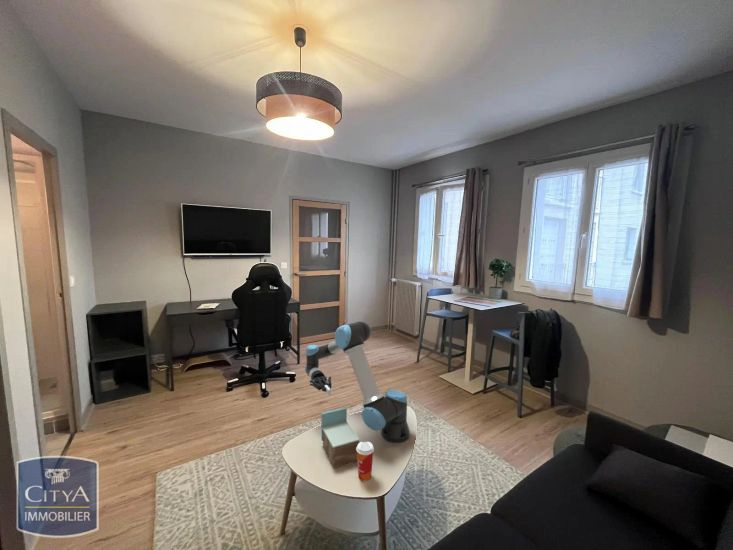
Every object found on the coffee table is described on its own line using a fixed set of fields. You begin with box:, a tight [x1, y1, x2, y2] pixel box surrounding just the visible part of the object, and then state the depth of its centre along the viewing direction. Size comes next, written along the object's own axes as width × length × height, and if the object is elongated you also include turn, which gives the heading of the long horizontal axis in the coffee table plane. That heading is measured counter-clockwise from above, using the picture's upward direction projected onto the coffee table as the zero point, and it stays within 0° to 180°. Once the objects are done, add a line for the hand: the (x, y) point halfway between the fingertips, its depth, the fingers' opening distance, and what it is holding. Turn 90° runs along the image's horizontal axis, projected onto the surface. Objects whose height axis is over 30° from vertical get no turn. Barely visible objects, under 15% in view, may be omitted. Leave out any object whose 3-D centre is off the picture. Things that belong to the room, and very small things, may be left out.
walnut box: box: [322, 431, 361, 469], centre depth 146 cm, size 16×13×9 cm
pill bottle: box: [356, 441, 375, 482], centre depth 132 cm, size 8×8×14 cm
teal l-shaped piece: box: [320, 406, 360, 448], centre depth 147 cm, size 18×13×14 cm
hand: (329, 392), depth 160 cm, fingers closed
